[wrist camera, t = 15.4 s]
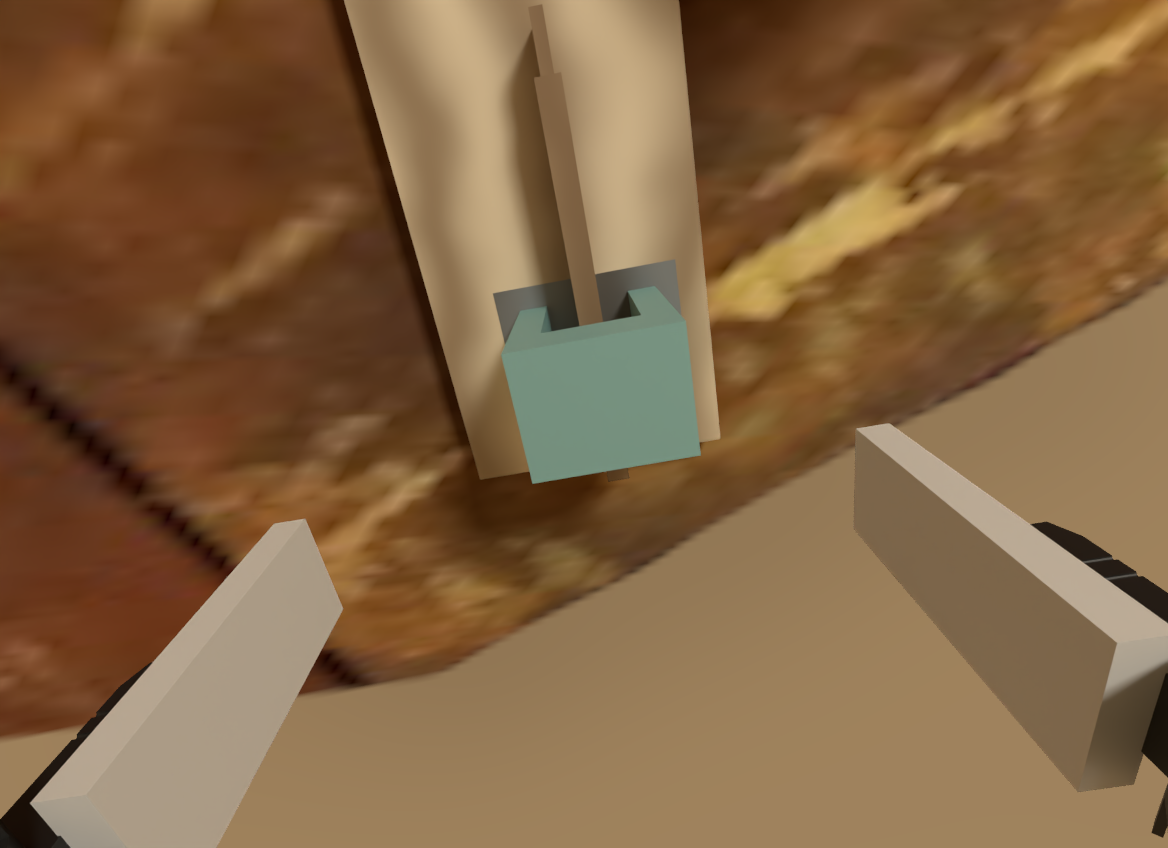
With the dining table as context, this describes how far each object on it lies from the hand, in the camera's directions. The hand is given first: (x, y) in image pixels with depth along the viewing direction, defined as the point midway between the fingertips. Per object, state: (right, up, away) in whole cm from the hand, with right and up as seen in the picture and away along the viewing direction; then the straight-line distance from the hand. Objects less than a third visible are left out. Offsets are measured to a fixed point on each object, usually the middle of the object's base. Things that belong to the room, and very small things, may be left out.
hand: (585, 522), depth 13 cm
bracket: (+1, +7, +18) cm, 20 cm away
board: (-2, +15, +17) cm, 23 cm away
